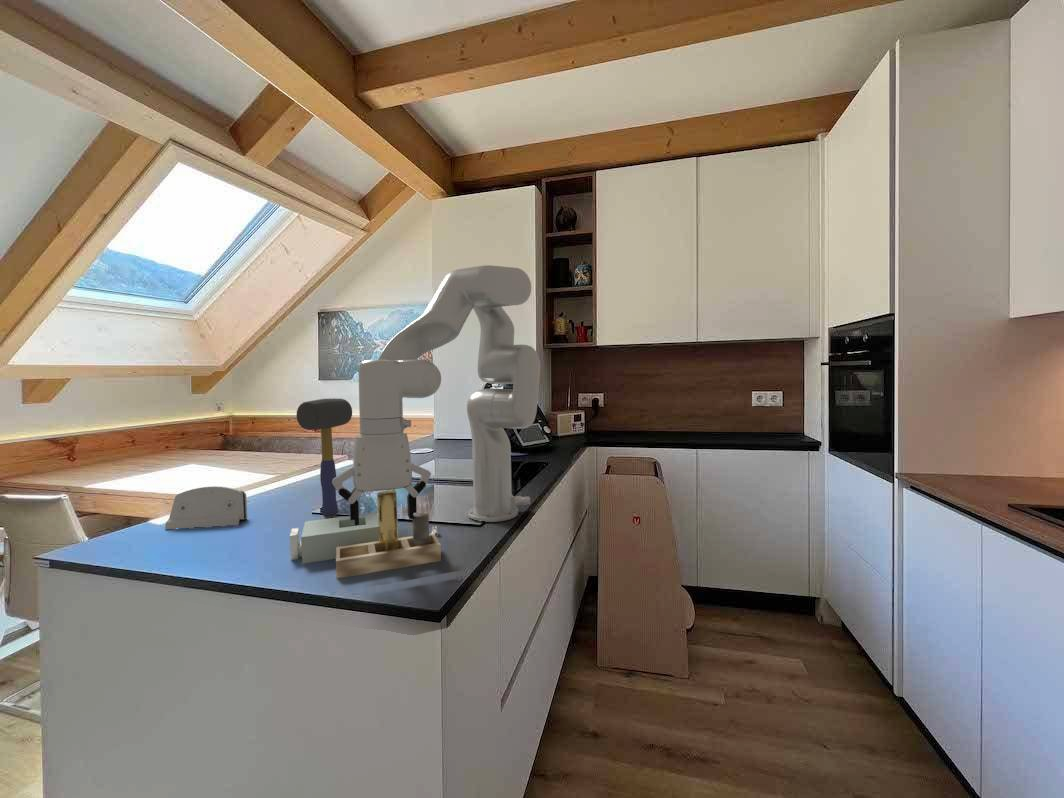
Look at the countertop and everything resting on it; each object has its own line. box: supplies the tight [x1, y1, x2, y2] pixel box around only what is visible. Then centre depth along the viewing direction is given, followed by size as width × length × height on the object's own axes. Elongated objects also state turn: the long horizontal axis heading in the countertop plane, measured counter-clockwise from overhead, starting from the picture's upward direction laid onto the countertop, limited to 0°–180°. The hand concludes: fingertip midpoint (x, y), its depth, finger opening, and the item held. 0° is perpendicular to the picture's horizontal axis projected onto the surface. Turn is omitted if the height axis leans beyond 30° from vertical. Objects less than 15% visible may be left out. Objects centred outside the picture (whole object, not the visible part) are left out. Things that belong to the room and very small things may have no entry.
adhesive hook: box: [431, 525, 439, 537], centre depth 102 cm, size 3×3×3 cm
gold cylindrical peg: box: [376, 490, 399, 552], centre depth 87 cm, size 3×3×13 cm
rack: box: [335, 512, 442, 579], centre depth 87 cm, size 18×7×9 cm, turn 112°
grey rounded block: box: [164, 486, 248, 530], centre depth 116 cm, size 17×5×10 cm, turn 99°
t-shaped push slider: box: [289, 527, 302, 561], centre depth 93 cm, size 8×4×5 cm, turn 112°
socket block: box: [300, 512, 379, 565], centre depth 95 cm, size 14×10×6 cm
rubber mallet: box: [296, 398, 353, 519], centre depth 118 cm, size 12×8×30 cm, turn 159°
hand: (384, 520), depth 87 cm, fingers open, 9 cm apart
